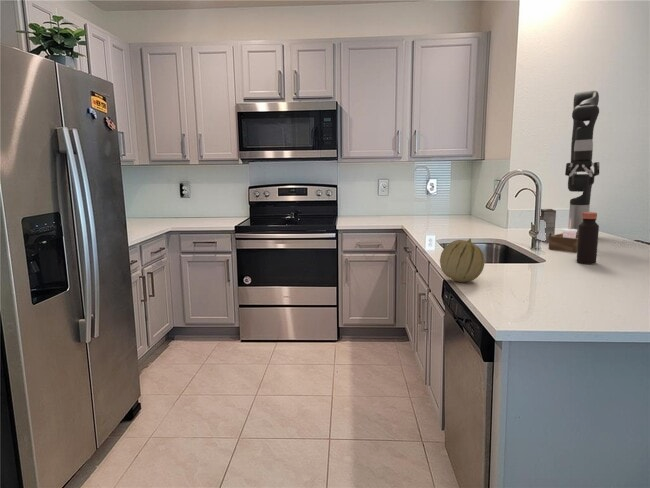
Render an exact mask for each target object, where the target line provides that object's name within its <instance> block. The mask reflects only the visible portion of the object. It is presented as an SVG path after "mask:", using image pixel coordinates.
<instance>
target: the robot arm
mask: <svg viewBox="0 0 650 488" xmlns="http://www.w3.org/2000/svg"><path fill="white" fill-rule="evenodd" d="M599 96H600V95H599V92H598V91H597V90H586V91H579V92H575V94H574V97H573V104H572V105H573V107H572V113H571V117H572V120H573V123H572V135H571V144H570V145H571V146H570V148H571V149H570V162H567V163H566V164H565V173H564V175H565V176H566V177H568V179H567V189H568V191H569V192H577V193H579V192H582V194H581V195H579V196H577V197H573V198H571V199H570V200H569V211H568V228H567V229H569V226H570V219H571V228H570V229H576V230H577V232H576V235H578V231H579V225H580V224H581V223H582V222H583V218H582V213H583V212H590V207H591V205H590V204H591V196H592V189H593V188H592V187H593V184H594V183H595V177H596V176H599V175H600V162H599V161H596V162H593V154H594V153H593V152H594V151H593V150H594V141H593V140H594V130H595V125H596V121H597V119H598V117H599V114H600V108H599V106H598V105H599V101H600V100H599V99H600V97H599ZM586 122H588V123H587V124H586ZM591 167H593V169H592V168H591ZM581 172H582V173H581ZM585 172H586V173H585Z"/></svg>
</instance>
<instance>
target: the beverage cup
mask: <svg viewBox="0 0 650 488" xmlns="http://www.w3.org/2000/svg"><path fill="white" fill-rule="evenodd" d="M568 226H569V225H568ZM570 228H571V219H570V226H569V229H568V228H562V229H561V231H562V233H563V237H566V238H576V232H577V230H576V229H570Z"/></svg>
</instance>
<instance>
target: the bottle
mask: <svg viewBox="0 0 650 488" xmlns="http://www.w3.org/2000/svg"><path fill="white" fill-rule="evenodd" d="M582 218H583V222H582V223H581V224H580V225H579V231H578V246H577V252H576V259H575V261H576V262H577V263H578V264H583V265H594V264H596V263H597V256H598V255H597V254H598V246H599V245H598V243H599V232H600V231H599V230H600V226H599V224H598V223H597V222H596V221H597V218H598V213H597V212H592V211H589V212H583V213H582Z"/></svg>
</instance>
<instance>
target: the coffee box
mask: <svg viewBox="0 0 650 488" xmlns="http://www.w3.org/2000/svg"><path fill="white" fill-rule="evenodd" d="M540 209H541V216H540V220H544V221H545V222H546V228H545V233H546V240H545V241H544V242H546V243H547V242H548V243H549V236H552V235H556V234H555V232H556V218H557V217H556V216H557V210H555V209H553V208H540Z"/></svg>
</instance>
